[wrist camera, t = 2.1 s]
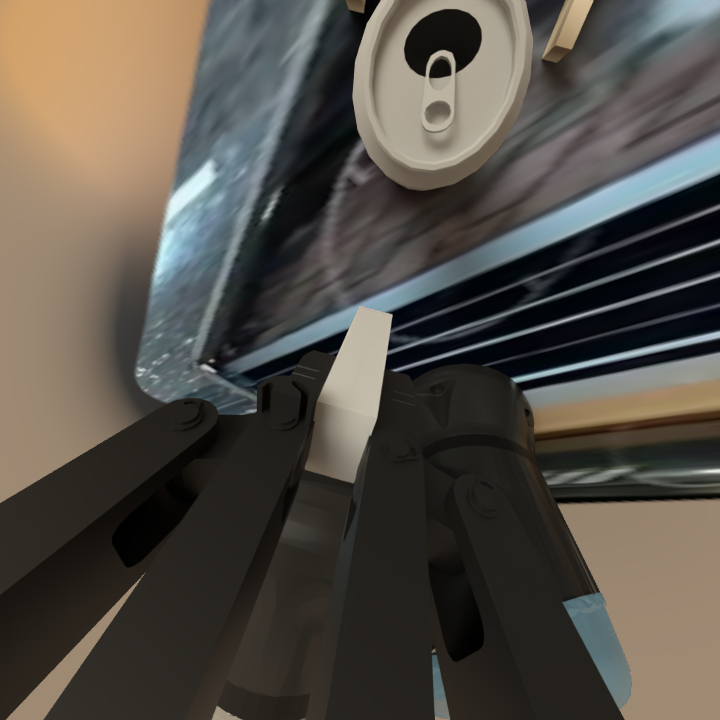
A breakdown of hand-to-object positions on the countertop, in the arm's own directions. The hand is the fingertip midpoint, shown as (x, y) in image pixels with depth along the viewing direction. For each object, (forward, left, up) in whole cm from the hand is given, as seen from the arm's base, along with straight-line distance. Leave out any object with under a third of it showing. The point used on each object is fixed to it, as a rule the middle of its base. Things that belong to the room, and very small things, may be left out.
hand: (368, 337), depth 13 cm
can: (+10, 0, -16) cm, 19 cm away
